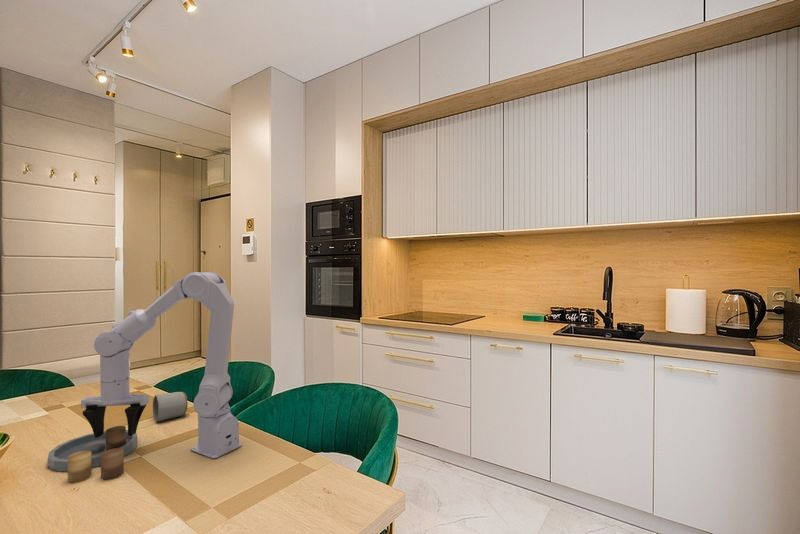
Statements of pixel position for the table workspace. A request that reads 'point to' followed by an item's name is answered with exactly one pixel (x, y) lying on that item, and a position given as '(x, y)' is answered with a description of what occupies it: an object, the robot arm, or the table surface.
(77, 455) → the bead
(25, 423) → the table surface
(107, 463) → the bead
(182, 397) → the ceramic mug
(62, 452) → the tray
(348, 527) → the table surface
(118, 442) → the bead
